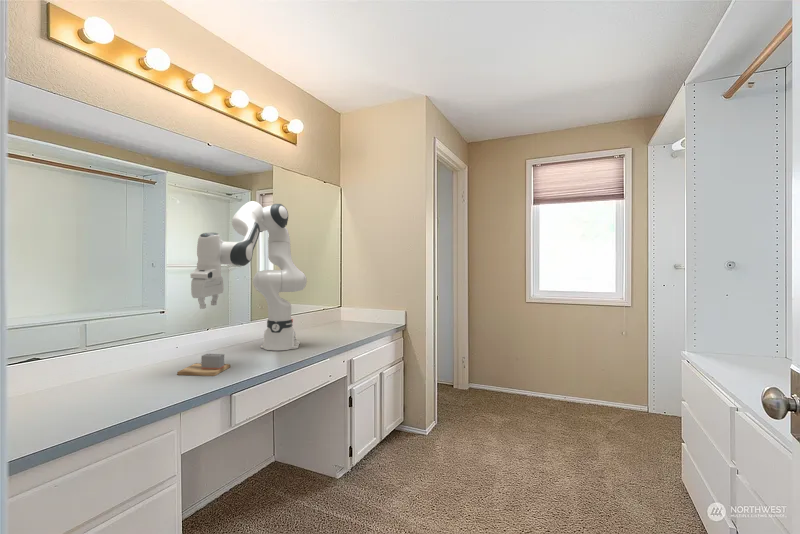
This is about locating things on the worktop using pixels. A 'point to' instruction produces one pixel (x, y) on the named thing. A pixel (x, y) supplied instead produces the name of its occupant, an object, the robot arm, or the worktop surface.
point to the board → (201, 370)
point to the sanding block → (212, 361)
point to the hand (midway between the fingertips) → (208, 306)
